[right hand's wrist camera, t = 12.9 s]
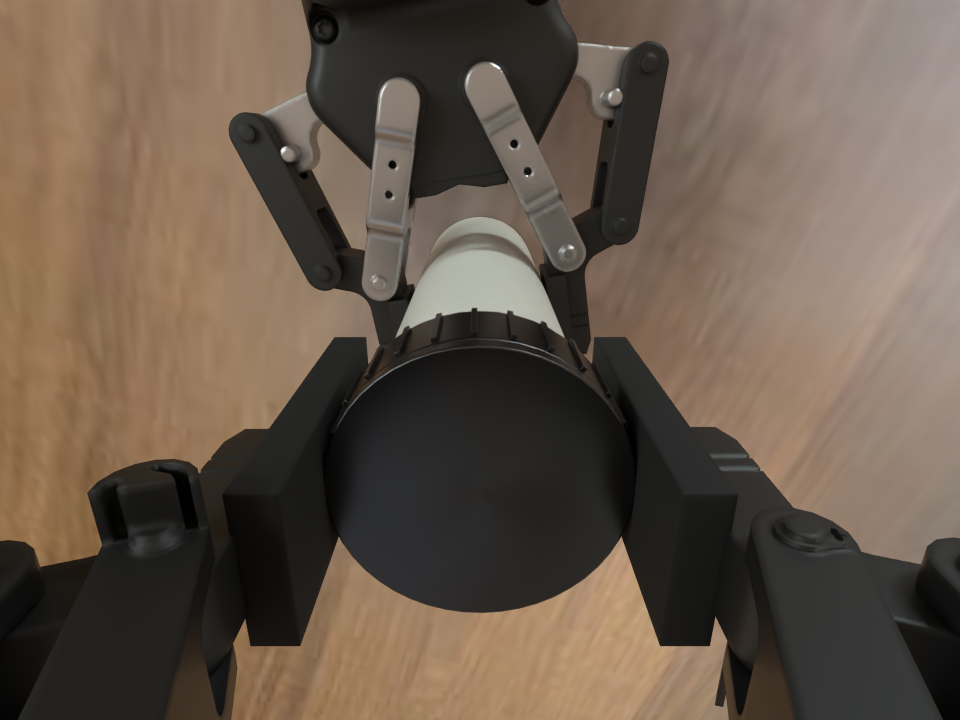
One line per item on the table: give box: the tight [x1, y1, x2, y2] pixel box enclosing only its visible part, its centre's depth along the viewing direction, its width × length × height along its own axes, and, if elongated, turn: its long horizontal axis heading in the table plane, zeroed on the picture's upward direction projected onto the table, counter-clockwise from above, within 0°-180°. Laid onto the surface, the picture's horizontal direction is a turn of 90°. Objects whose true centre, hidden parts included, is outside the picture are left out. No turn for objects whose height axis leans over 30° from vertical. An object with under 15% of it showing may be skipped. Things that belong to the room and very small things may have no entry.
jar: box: [395, 217, 565, 338], centre depth 19 cm, size 5×5×18 cm
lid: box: [324, 308, 636, 613], centre depth 11 cm, size 6×6×2 cm
